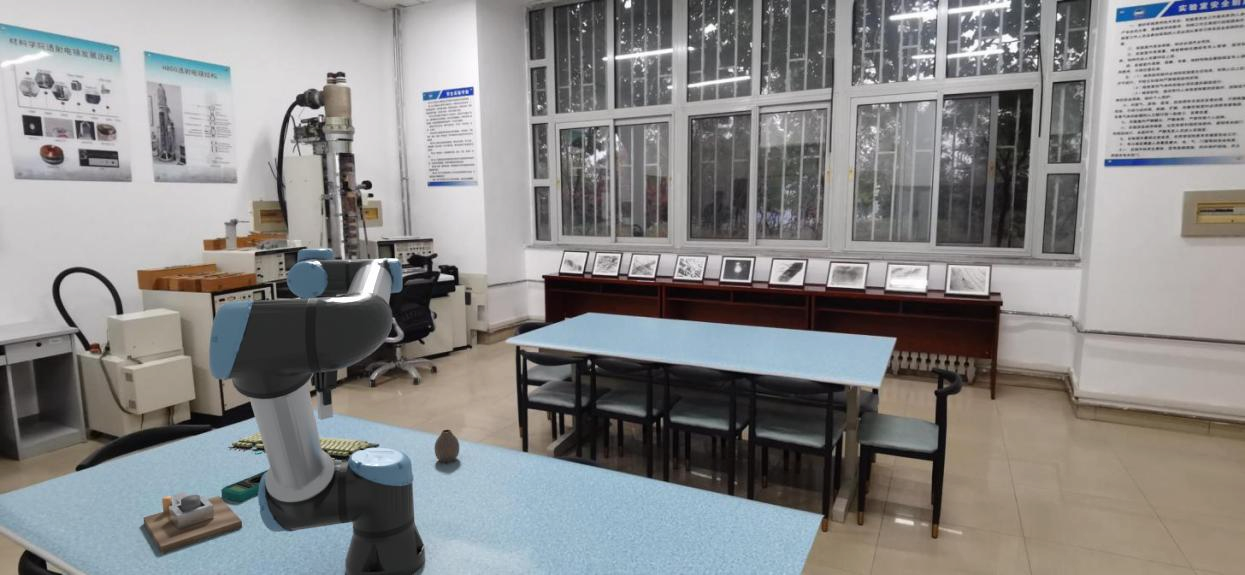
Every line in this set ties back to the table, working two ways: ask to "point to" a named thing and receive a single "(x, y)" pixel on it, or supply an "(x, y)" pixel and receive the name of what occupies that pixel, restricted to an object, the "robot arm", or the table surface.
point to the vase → (446, 446)
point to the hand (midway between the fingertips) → (325, 417)
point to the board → (174, 537)
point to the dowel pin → (166, 504)
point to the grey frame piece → (190, 512)
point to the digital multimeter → (243, 488)
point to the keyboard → (328, 445)
